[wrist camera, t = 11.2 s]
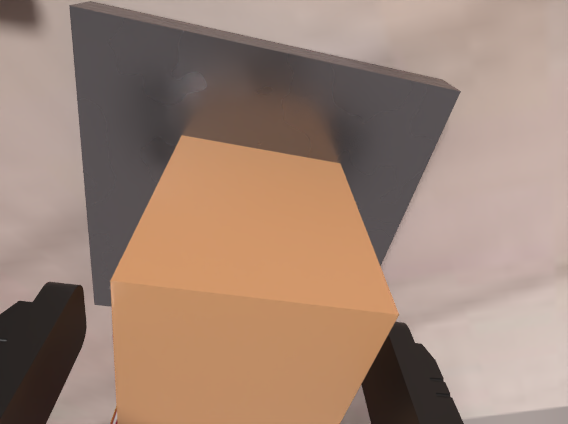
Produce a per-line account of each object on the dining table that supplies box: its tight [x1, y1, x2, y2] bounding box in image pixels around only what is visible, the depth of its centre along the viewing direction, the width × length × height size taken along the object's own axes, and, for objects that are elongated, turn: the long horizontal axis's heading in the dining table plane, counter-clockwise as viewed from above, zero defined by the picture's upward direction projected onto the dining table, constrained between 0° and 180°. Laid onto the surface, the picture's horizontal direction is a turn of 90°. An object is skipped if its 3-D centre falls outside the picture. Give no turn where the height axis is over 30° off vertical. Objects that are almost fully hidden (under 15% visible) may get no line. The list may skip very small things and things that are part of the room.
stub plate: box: [69, 1, 461, 306], centre depth 13 cm, size 12×12×6 cm
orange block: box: [110, 135, 399, 424], centre depth 12 cm, size 6×6×7 cm
